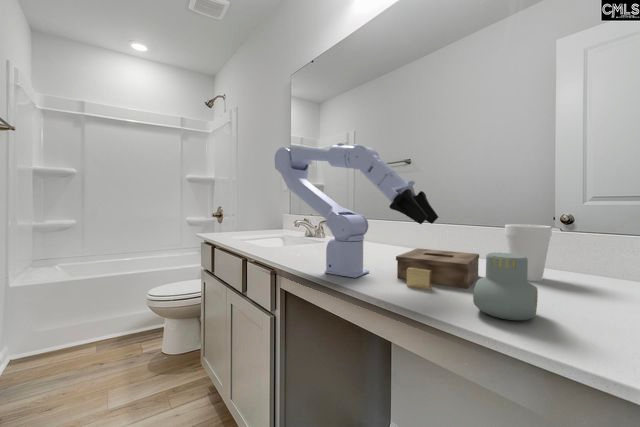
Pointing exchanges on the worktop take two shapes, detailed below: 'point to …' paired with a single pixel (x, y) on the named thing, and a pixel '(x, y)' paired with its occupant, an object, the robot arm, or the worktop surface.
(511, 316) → the air freshener
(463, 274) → the money box
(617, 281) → the worktop surface
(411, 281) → the yellow block
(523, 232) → the foam cup
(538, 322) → the worktop surface
